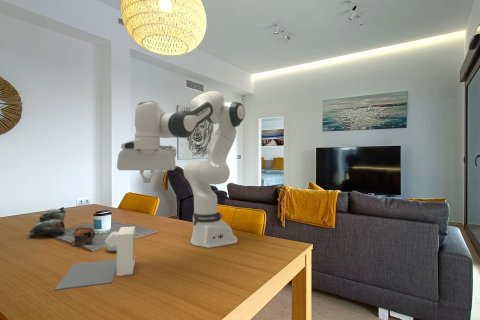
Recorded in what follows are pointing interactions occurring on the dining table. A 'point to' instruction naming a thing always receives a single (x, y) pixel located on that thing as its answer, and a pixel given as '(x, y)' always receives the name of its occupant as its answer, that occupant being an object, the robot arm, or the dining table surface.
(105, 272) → the mat
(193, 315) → the dining table surface
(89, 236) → the pottery mug
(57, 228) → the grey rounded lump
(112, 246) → the die
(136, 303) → the dining table surface
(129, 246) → the cream block
